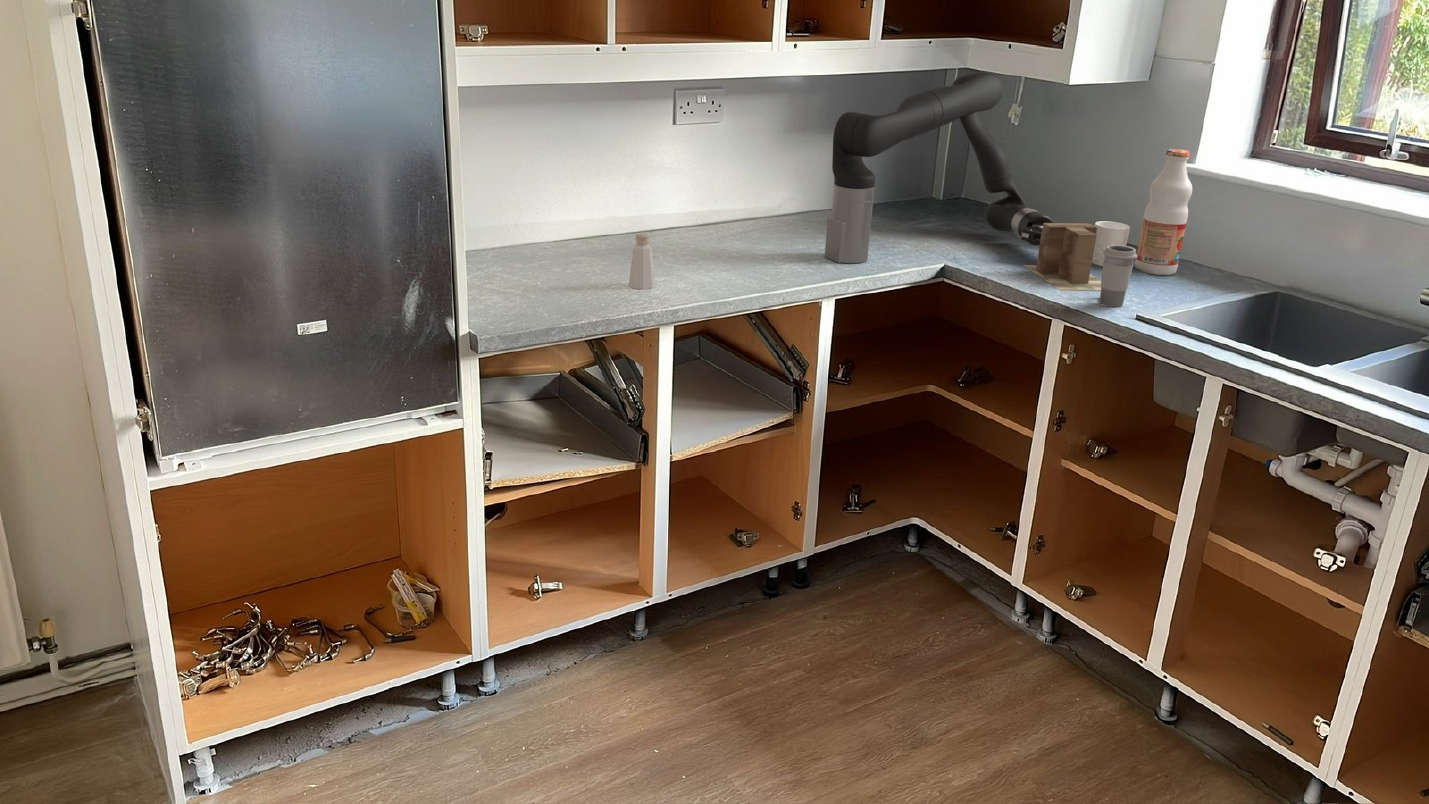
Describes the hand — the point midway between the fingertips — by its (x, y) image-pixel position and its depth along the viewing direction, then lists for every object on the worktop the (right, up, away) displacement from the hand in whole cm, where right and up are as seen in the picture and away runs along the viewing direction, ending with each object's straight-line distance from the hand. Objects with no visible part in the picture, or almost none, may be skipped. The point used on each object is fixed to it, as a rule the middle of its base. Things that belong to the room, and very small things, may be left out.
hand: (1062, 243), depth 250 cm
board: (0, -9, -3) cm, 9 cm away
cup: (+4, -16, -19) cm, 25 cm away
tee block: (0, -8, -3) cm, 8 cm away
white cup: (+14, -4, +11) cm, 18 cm away
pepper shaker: (-95, -12, -21) cm, 97 cm away
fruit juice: (+25, -5, +9) cm, 27 cm away
